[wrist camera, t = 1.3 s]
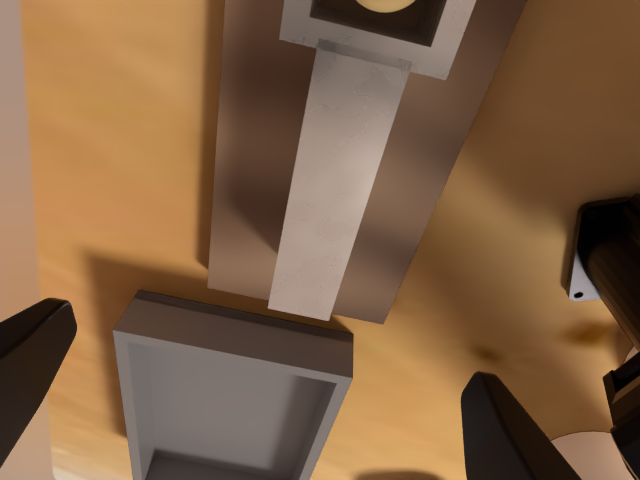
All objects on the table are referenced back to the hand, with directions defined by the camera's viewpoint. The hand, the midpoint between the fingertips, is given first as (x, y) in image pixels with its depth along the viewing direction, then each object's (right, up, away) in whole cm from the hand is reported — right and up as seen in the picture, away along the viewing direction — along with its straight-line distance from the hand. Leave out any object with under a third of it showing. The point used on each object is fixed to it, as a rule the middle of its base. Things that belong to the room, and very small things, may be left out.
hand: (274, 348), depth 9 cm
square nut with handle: (+2, +8, +9) cm, 12 cm away
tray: (-6, -11, +24) cm, 27 cm away
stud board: (+2, +9, +10) cm, 13 cm away
